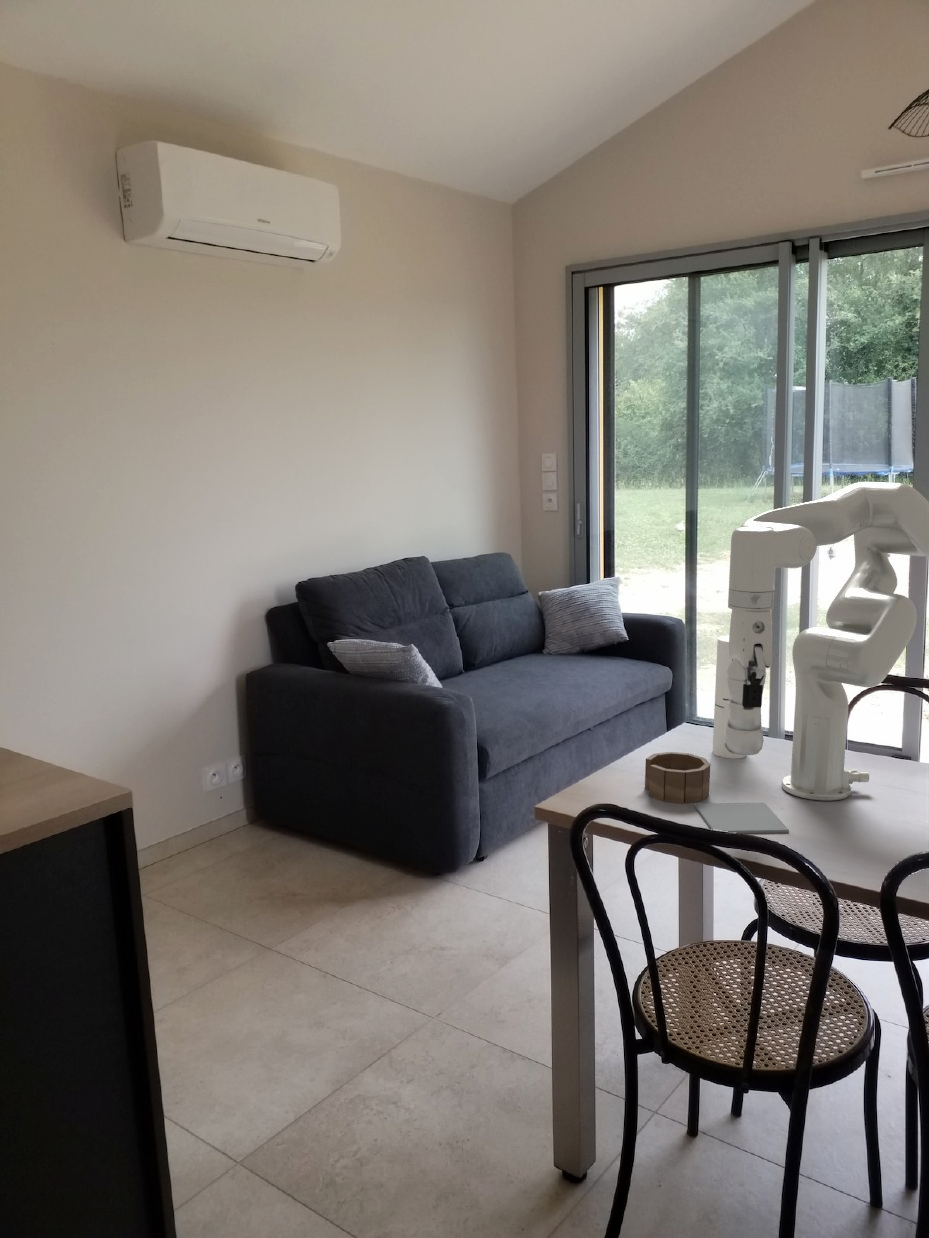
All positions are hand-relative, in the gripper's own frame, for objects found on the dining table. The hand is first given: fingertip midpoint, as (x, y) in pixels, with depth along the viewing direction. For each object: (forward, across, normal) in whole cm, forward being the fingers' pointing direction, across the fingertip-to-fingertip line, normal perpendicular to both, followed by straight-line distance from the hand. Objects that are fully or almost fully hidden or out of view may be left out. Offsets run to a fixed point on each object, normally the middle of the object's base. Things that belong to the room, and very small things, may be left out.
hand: (745, 700), depth 174 cm
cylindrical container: (+22, +37, -9) cm, 44 cm away
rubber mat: (+22, 0, 0) cm, 22 cm away
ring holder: (+22, +14, +8) cm, 27 cm away
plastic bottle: (+10, 0, 0) cm, 10 cm away
